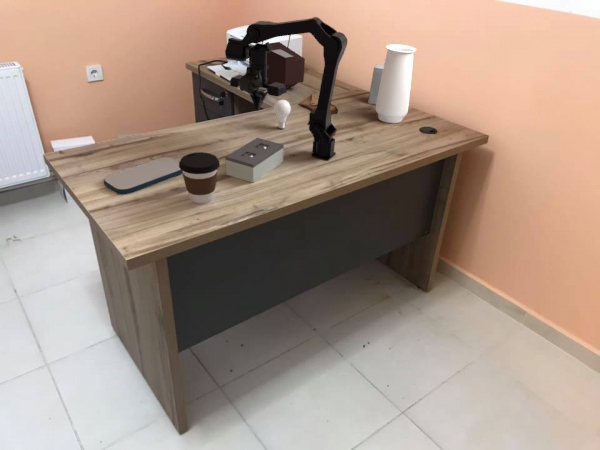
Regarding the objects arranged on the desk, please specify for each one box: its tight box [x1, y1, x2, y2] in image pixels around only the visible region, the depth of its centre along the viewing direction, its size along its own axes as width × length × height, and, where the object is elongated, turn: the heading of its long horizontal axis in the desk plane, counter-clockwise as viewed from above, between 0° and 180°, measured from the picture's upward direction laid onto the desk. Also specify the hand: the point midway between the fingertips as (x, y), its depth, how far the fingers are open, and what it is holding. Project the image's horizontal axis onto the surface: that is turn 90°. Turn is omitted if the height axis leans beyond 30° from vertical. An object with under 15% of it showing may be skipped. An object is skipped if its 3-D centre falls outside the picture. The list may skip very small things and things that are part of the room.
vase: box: [374, 44, 417, 124], centre depth 195 cm, size 13×13×28 cm
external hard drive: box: [103, 156, 183, 195], centre depth 149 cm, size 24×12×2 cm, turn 138°
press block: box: [225, 137, 285, 183], centre depth 157 cm, size 10×18×6 cm, turn 152°
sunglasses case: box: [297, 93, 339, 116], centre depth 208 cm, size 18×7×7 cm
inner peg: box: [258, 144, 267, 149], centre depth 160 cm, size 3×3×6 cm
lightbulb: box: [273, 99, 292, 130], centre depth 185 cm, size 6×6×11 cm
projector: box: [253, 35, 306, 90], centre depth 225 cm, size 16×23×25 cm
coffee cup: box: [179, 151, 220, 205], centre depth 137 cm, size 11×11×12 cm
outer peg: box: [244, 153, 253, 158], centre depth 153 cm, size 3×3×6 cm
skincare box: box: [367, 64, 384, 106], centre depth 214 cm, size 8×7×16 cm
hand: (257, 110), depth 168 cm, fingers closed
